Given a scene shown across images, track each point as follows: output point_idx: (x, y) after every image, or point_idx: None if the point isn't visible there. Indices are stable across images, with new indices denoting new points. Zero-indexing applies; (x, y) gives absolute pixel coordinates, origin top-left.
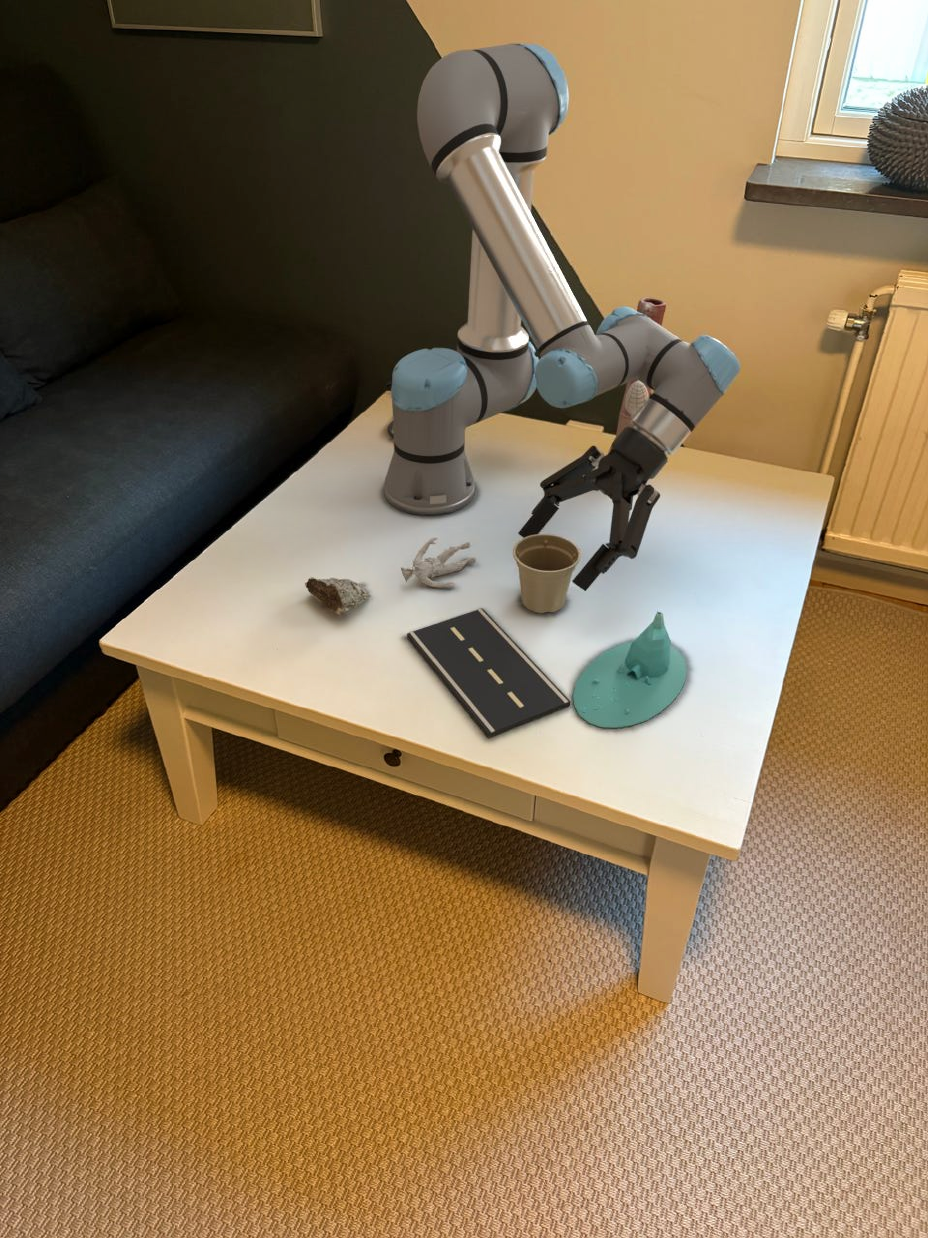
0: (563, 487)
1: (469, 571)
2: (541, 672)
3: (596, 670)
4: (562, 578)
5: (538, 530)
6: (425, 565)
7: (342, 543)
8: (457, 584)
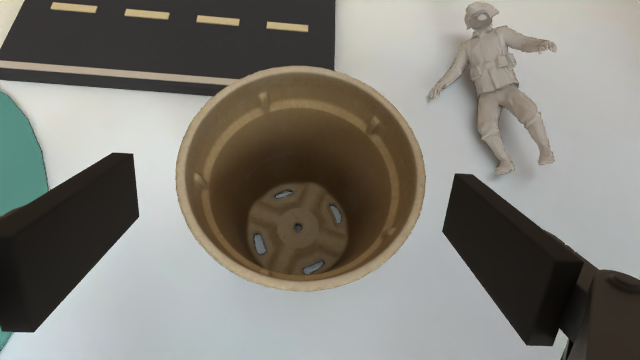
0: (620, 347)
1: (474, 158)
2: (93, 76)
3: (6, 165)
4: (208, 182)
5: (464, 248)
6: (487, 43)
7: (632, 28)
8: (439, 116)
